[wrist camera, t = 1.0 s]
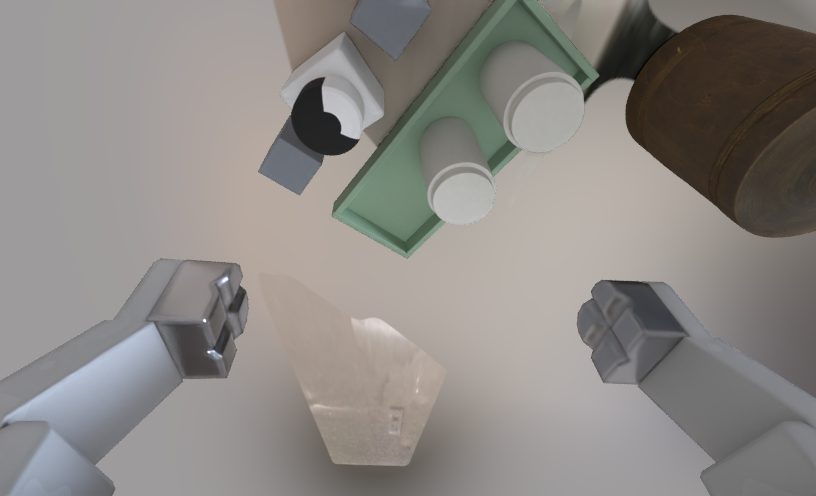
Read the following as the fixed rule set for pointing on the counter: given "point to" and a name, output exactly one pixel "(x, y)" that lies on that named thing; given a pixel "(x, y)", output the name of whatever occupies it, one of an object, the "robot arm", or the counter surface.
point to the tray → (444, 97)
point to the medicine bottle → (333, 98)
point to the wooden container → (735, 119)
